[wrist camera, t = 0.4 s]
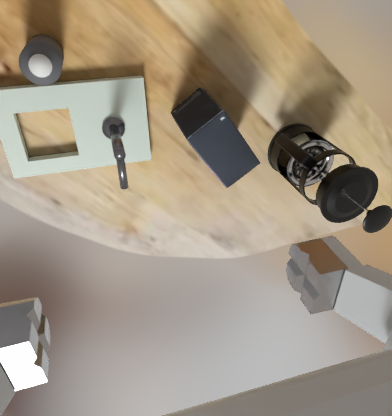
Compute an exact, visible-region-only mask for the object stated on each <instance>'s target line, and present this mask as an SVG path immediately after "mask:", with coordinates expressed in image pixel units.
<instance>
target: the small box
mask: <svg viewBox="0 0 392 416" xmlns="http://www.w3.org/2000/svg"><path fill="white" fill-rule="evenodd" d="M171 114H172V116H173V118H174V119H175V121H176V123H177V125H178V126H179V128H180V129H181V131H182V133H183V134H184V136H185V137H186V139H187V140H188V142H189V143H190V145H191V146H192V147H193V148H194V150H195V151H196V152H197V154H198V155H199V156H200V158H201V159H202V160H203V161H204V162H205V163H206V165H207V166H208V167H209V168H210V169H211V170H212V172H213V173H214V174H215V175H216V176H217V177H218V179H219V180H220V181H221V182H222V183H223V184H224V185H225V186H226V188H228V187H229V186H231V185H232V184H234V183H235V182H236V181H237V180H239V179H240V178H241V177H243V176H244V175H245V174H247V173H248V172H249V171H251V170H252V169H253V168H255V167H256V166H257V165H259V164H260V162H259V160H258V159H257V157H256V156H255V154H254V153H253V151H252V150H251V148H250V147H249V145H248V144H247V142H246V141H245V139H244V138H243V137H242V135H241V134H240V132H239V131H238V129H237V128H236V126H235V125H234V123H233V122H232V121H231V119H230V118H229V116H228V115H227V113H226V112H225V111H224V109H222V107H221V106H220V105H218V104H217V103H216V101H214V99H212V98H211V97H210V96H209V95H208V94H207V92H206V91H205V90H204V89H203V88H200V89H198V90H197V91H196V92H195V93H193V95H191V96H190V97H189V98H188V99H187V100H185V101H184V102H183V103H182V104H180V105H179V106H177V107H176V108H175V109H174V110H173V111H172V112H171Z"/></svg>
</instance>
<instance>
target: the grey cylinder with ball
mask: <svg viewBox="0 0 392 416" xmlns="http://www.w3.org/2000/svg"><path fill="white" fill-rule="evenodd" d="M63 58H64V54H63V50H62V48H61V46H60V44H59V43H58V42H57V41H56V40H55V39H54V38H52V37H50V36H47V35H36V36H34V37H32V38H31V39H30V40H29V42H28V43H27V45H26V46H25V47H24V49H23V50H22V52H21V54H20V57H19V66H20V69H21V71H22V73H23V75H24V76H25V77H26V78H27V79H28V80H29V81H31V82H33V83H35V84H37V85H50V84H52V83H54V82H56V81H57V80H58V78H59V77H60V75H61V71H62V65H63Z"/></svg>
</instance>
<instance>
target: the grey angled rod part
mask: <svg viewBox="0 0 392 416" xmlns="http://www.w3.org/2000/svg"><path fill="white" fill-rule="evenodd" d="M102 131H103V133H104V135H105V136H106V137H107V138H109V139H111V143H112V148H113V153H114V157H115V159H116V161H117V167H118V174H119V180H120V186H121V189H127V188H128V181H127V174H126V167H125V160H124V158H125V157H126V154H125V150H124V146H123V142H122V139H121V137H122V136H123V134H124V132H125V126H124V123H123V122H122V120H120V119H119V118H116V117H110V118H108V119H106V120H105V121H104V122H103V125H102Z"/></svg>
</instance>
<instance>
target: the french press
mask: <svg viewBox="0 0 392 416" xmlns="http://www.w3.org/2000/svg"><path fill="white" fill-rule="evenodd" d="M302 133H305V134H306V135H307V136H308V137H309V139H310V141H308V142H305V143H303V144H301V145H300V146H298V145H297V144H296V143H294V142H293V141H292V140H291V139H292V138H293V137H295V136H297V135H299V134H302ZM331 146H332V147H333V148H335V149H332V147H331ZM282 149H283V150H285V151H286V152H287V153H288V154H289V155H290V158H289V160H288V163H287V167H284V166H281V165H280V164H279V163H278V159H279V155H280V152H281V150H282ZM336 154H343V155H345V156H346V157H348V159H349V161H350V164H346V165H342V166H340V167H338V168H336V169H334V170H333V171H331V172H330V173H329V172H328V171H329V170H330V168H331V166H332V164H333V159H334V155H336ZM268 160H269V163H270V165H271V167H272V168H273V169H275V170H276V171H278V172H279V173H280V174H281V175H282V176H283V177H284V178H285V179H286V180H287V181H288V182H289V183H290V184H291V185H292V186H293V187H294V188H295V189H296V190H298V191H299V192H300V193H301V194H302V195H303V196H304V197H305V198H306V199H307V200H308V201H309V202H310V203H312V204H314V205H318V207H319V208H320V210H321V213H322V215H323V216H324V217H325V218H326V219H327V220H329V221H331V222H335V223H341V222H346V221H349V220H351V219H353V218H355V217H357V216H358V215H360V214H361V213H362V212H363V211H364V210H365V211H366V212H367V216H366V217H365V219H364V221H363V229H364V230H365V231H366V232H369V233H373V232H377V231H379V230H381V229H382V228H384V227H385V226H386V225H387V224H388V222H389V221H390V219H391V217H392V209H391V208H390V207H389V206H387V205H382V206H378V207H376V208H374V209H373V210H368V209H367V207H368V206H369V205H370V204H371V202H372V201H373V199H374V197H375V195H376V193H377V190H378V179H377V176H376V174H375V173H374V172H373V171H372V170H370V169H368V168H365V167H360V166H358V165H356V163H355V161H354V159H353V158H352V157H351V156H349V155H348V154H346V153H345V152H343V151H342V150H340V149H339V148H337V147H336V146H334V145H333V144H332V143H330V142H329V141H327V140H326V139H324V138H323V137H321V136H320V135H318V134H317V133H315V132H314V131H313V130H312V128H310V127H309V126H307V125H304V124H292V125H289V126H287V127H285V128H283V129H282V130H280V131H279V132H278V133H277V134H276V135H275V137H274V138H273V139H272V141H271V143H270V146H269V149H268ZM320 180H322V182H321V183H320V185H319V187H318V189H317V193H316V200H311V199H309V198H308V197H307V196H306V195H305V191H304V187H306V186H310V185H313V184H315V183H317V182H318V181H320ZM295 185H296V186H295ZM297 186H299V188H298V187H297Z"/></svg>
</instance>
